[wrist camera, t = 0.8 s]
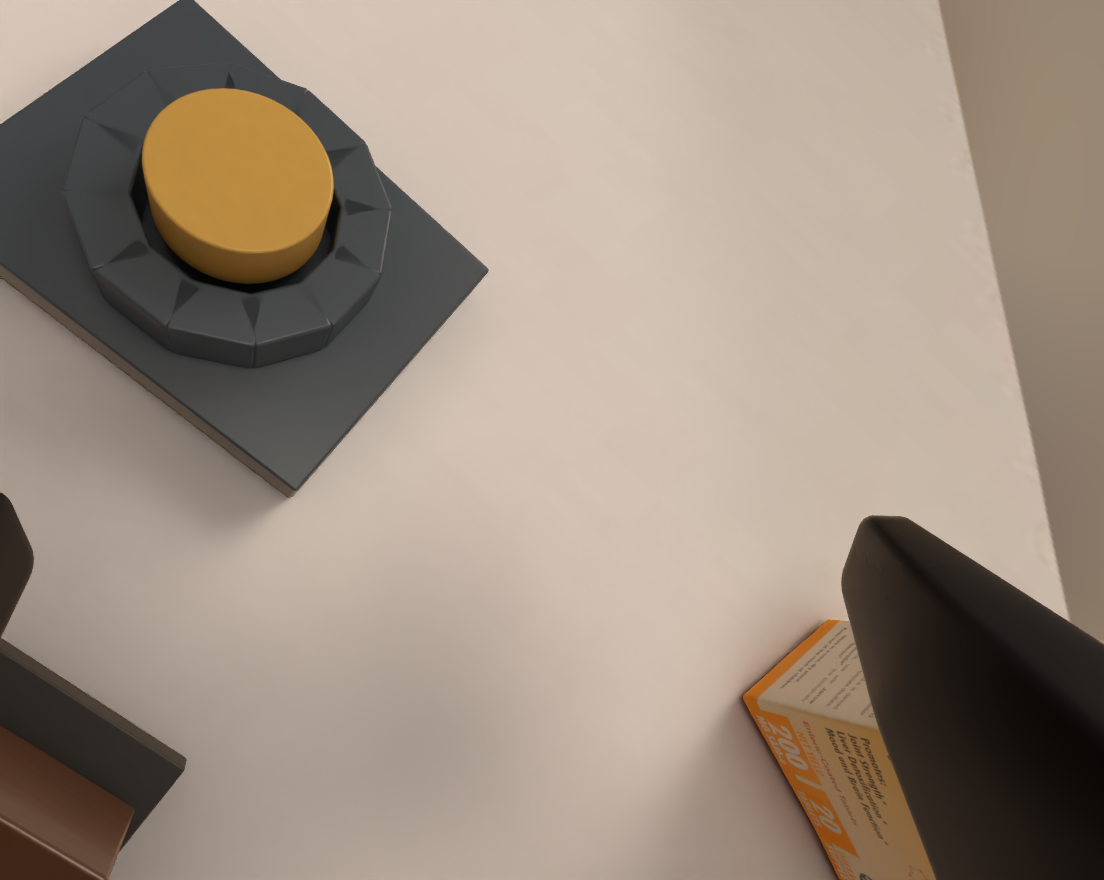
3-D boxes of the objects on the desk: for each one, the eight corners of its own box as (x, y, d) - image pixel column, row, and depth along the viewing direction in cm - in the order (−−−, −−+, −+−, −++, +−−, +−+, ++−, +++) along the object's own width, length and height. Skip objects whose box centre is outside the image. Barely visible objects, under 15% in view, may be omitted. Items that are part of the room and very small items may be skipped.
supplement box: (730, 697, 23) (1265, 823, 11) (825, 614, 25) (1358, 645, 13) (849, 920, 23) (1490, 1272, 11) (933, 820, 25) (1547, 1029, 14)
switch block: (471, 290, 22) (513, 242, 19) (290, 499, 19) (303, 483, 15) (190, 38, 20) (183, -66, 16) (-68, 225, 17) (-137, 141, 13)
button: (356, 214, 17) (369, 178, 16) (251, 317, 16) (253, 288, 14) (231, 104, 17) (231, 54, 15) (110, 201, 15) (95, 157, 14)
